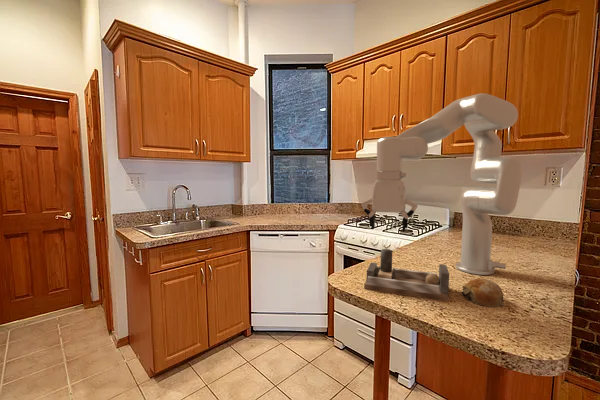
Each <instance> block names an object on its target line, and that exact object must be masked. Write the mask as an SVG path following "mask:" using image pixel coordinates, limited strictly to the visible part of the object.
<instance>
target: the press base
mask: <svg viewBox="0 0 600 400" xmlns="http://www.w3.org/2000/svg"><path fill="white" fill-rule="evenodd" d="M380 267H381V265H380V266H379V265H378V262H370V263H369V265H368V267H367V269H366V279H365V282H364V285H363V289H365V290H370V291H372V290H373V291H378V292H384V293H385V292H386V293H391V294H398V295H403V296H404V295H405V296H411V297H418V298H423V299H424V298H425V299H432V300H437V301H444V302H449V301H450V298H449V297H450V296H449V290H450V289H449V288H450V273H449V270H448V266H447V265H446V264H438V273H436V272H429V271H422V270H420V271H419V270H414V269H413V270H411V269H405V268H404V269H403V268H395V267H394V268H395V278H394V279H387V278H380V277H378V273H379V271H380Z"/></svg>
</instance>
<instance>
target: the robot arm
mask: <svg viewBox="0 0 600 400" xmlns="http://www.w3.org/2000/svg"><path fill="white" fill-rule="evenodd" d="M518 117H519V113H518V109H517V107H516V106H515V105H514V104H513V103H511V102H509V101H508V100H505V99H502V98H499V97H498V96H495V95H492V94H489V93H477V94H472V95H469V96H464V97H462V98H459V99H456V100H454V101H452V102H451V103H449V104H448V105H446V106H445V107H444V108H442V109H441V110H440V111H438V112H437V113H435V114H433V116H430V117H429V118H427V119H425V120H423V121H421V122H420V123H417V124H415V125H414V126H412V127H410V128H408V129H406V130H405V131H403V132H401V133H400V134H398V135H397V136H385V137H380V138H378V140H377V143H376V180H375V181H374V183H373V188H372V195H371V196H372V198H370V199H367V200H366V201H364V202H362V203H361V204H360V206H361V207H362V209H363V212H364V213H365V214H366V215H367V216H368V217H369V223H368V224H369V227H370V229H371V230H374V229H375V227H376V225H375V224H376V223H375V222H376V217H375V214H376V213H391V214H392V213H394V214H395V213H397V214H398V213H400V214H401V215H402V230H401V231H403V232H406V229H408V225H409V224H408V223H409V221H408V219H410V217H411V216H412V215H413V214H415V212H416V210H417V208H418V204H417V203H415V202H413V201H410V200H409V199H407V198H406V186H405V181H404V180H402V179H403V178H407V173H406V172H403V171H402V162H411V161H412V162H413V161H419V160H420V159H422V158H424V157H426V155H427V154H428V151H429V146H428V145H429V144H432V143H436V142H439V141H441V140H444V139H446V138H447V137H448V136H450V135H451V134H453V133H454V132H455V131H457V130H458V129H460V128H461V127H462V126H464V128H465V129H466V130H467V132H468V133H469V135H470V136H471V138H472V140H473V142H474V148H473V156H472V160H471V161H472V162H471V166H470V171H469V172H470V173H469V174H470V179H471V180H472V182H474V183H476V184H477V183H478V184H487V185H488V184H491V185H493V184H494V185H496V187H493V186H492V187H490V186H470V187H468V188H465V189H464V191H462V193H461V195H460V206H461V211H462V229H461V230H462V231H461V250H460V251H461V252H460V261H458V262H456V263H455V267H456V269H457V270H459V271H462V272H464V273H468V274H472V275H477V276H478V275H480V276H488V275H493V274H495V272H496V271H495V270H496V269H503V270H505V269H506V267H507V266H506V263H504V262H500V261H493V260H492V259H491V256H492V255H491V253H492V241H493V240H492V239H493V236H492V235H493V222H492V219H491V218H490V215H495V216H509V215H510V214H511V213H513V211H514V210H515V209H516V206H517V203H518V197H519V193H520V188H521V182H522V177H523V166H522V164H521V162H520V161H519V160H518V158H516V157H513V156H501V155H502V148H503V142H502V140H501V139H500V136H499V135H498V134H496V132H495V131H498V130H505V129H509V128H511V127H513V125H515V124H516V123H517V120H518ZM370 204H371V210H370V209H369V208H368V205H370ZM406 205H408V206H409V207H411V208H410V210H409V211H406Z"/></svg>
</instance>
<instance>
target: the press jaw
mask: <svg viewBox="0 0 600 400" xmlns="http://www.w3.org/2000/svg"><path fill="white" fill-rule="evenodd" d="M378 277H380V278H387V279H394V278H395V267H394V266H393V250H392V249H388V248H382V249H381V250H380V271H379V273H378Z"/></svg>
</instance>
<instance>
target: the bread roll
mask: <svg viewBox="0 0 600 400" xmlns="http://www.w3.org/2000/svg"><path fill="white" fill-rule="evenodd" d="M461 296H462V297H464V298H465V299H466V300H467V301H468V302H470V303H473V304H475V305H476V304H477V305H479V306H481V307H485V306H486V307H490V308H497V307H503V306H504V305H505V303H504V302H503V301H504V293H503V289H502V288H501V287H500V286H499V285H498V284H497V283H496V282H494V281H492V280H491V279H486V278H482V277H481V278H480V277H479V278H474V279H471V280H469V281H468V282H467V283H466V284H465V285H462V292H461Z"/></svg>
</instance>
